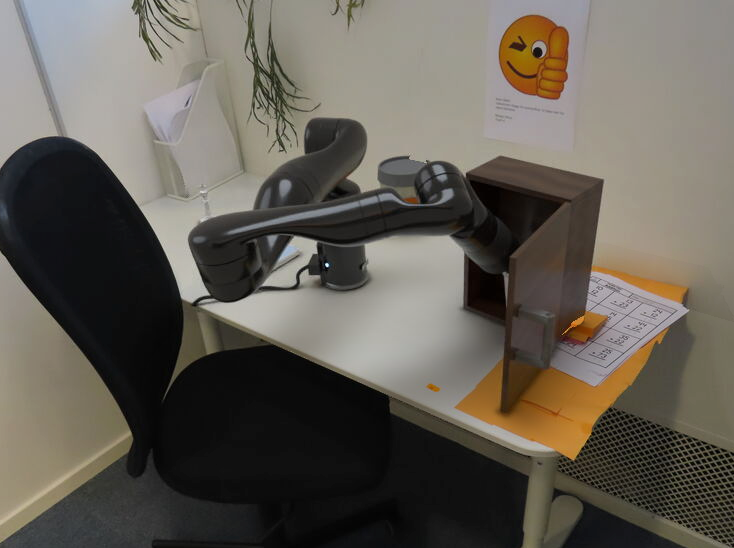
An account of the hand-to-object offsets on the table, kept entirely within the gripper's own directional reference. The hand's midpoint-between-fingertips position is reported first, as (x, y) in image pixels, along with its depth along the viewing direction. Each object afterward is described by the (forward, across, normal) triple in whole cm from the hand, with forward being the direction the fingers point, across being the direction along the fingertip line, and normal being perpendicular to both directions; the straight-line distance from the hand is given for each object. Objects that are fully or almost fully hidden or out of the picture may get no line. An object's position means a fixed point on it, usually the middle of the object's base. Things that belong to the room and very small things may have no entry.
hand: (524, 278), depth 124 cm
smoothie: (+4, 0, -6) cm, 7 cm away
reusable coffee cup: (+17, -43, +6) cm, 47 cm away
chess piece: (-2, -85, -13) cm, 86 cm away
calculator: (-6, -62, -17) cm, 64 cm away
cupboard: (+5, 0, -6) cm, 8 cm away
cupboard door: (-5, +14, -16) cm, 22 cm away
